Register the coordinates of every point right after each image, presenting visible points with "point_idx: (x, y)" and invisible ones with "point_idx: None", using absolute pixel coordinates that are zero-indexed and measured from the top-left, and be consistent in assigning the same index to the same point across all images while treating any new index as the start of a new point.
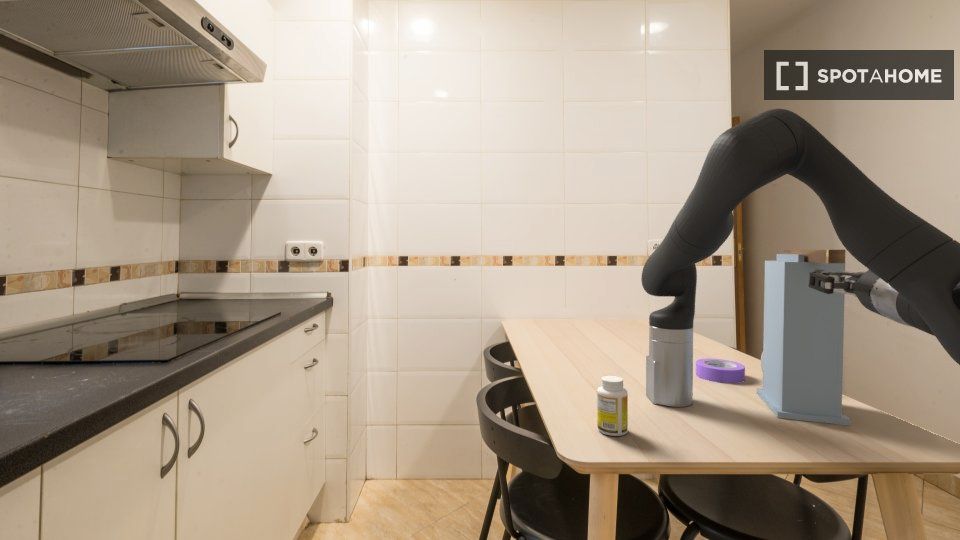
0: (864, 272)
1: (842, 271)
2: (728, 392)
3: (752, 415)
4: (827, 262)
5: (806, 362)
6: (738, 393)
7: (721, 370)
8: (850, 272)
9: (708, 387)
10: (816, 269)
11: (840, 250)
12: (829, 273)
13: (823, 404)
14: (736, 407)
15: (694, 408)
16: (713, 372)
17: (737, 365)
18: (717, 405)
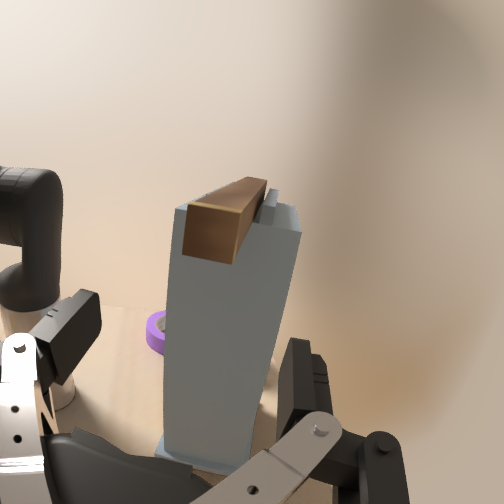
0: (7, 499)
1: (1, 399)
2: (148, 381)
3: (123, 447)
4: (183, 249)
5: (199, 407)
6: (159, 384)
7: (163, 340)
8: (4, 433)
9: (133, 365)
10: (77, 292)
11: (223, 213)
12: (2, 368)
13: (218, 455)
14: (120, 423)
15: (60, 416)
16: (155, 340)
17: None
18: (99, 414)
